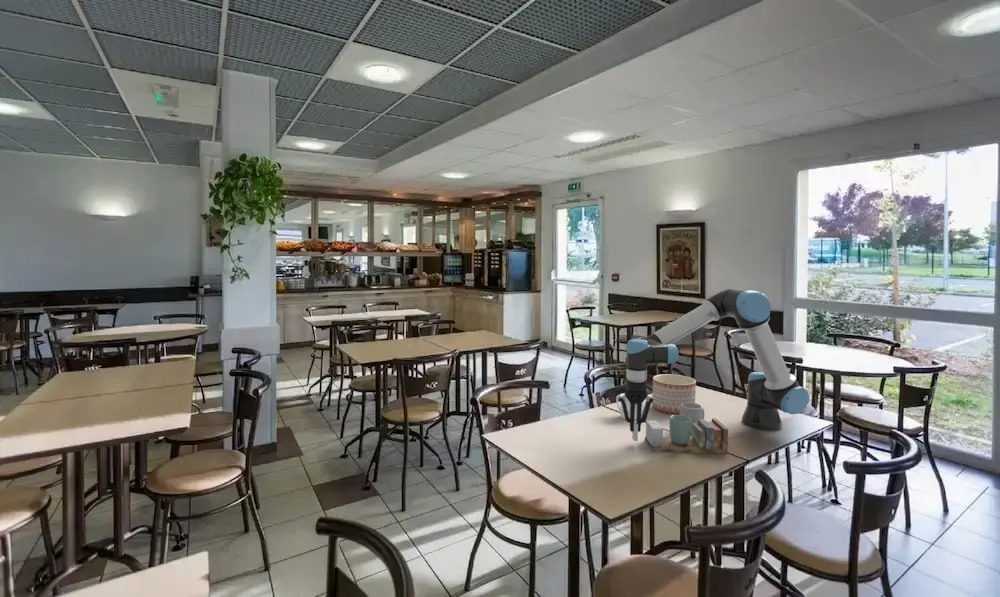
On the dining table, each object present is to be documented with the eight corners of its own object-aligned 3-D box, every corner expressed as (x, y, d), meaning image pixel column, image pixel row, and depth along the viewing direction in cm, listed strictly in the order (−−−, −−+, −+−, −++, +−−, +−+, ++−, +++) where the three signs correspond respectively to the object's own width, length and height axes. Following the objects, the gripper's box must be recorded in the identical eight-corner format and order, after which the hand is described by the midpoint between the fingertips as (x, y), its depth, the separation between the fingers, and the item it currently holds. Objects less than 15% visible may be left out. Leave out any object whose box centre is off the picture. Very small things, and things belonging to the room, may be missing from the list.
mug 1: (642, 416, 223) (643, 394, 222) (636, 422, 215) (637, 399, 214) (619, 412, 229) (619, 391, 228) (612, 418, 221) (613, 395, 220)
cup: (688, 448, 184) (689, 422, 183) (666, 444, 188) (667, 419, 187) (692, 441, 190) (693, 416, 189) (671, 437, 194) (672, 413, 193)
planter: (691, 405, 240) (692, 375, 239) (697, 417, 221) (699, 385, 220) (650, 402, 244) (651, 373, 243) (653, 414, 226) (654, 383, 224)
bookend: (655, 437, 194) (656, 420, 193) (662, 446, 185) (663, 428, 184) (645, 437, 194) (646, 420, 193) (651, 446, 185) (652, 428, 184)
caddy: (714, 440, 194) (715, 418, 194) (727, 453, 182) (728, 429, 182) (644, 439, 196) (645, 417, 195) (652, 452, 184) (653, 428, 183)
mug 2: (691, 436, 199) (692, 409, 198) (674, 429, 207) (675, 404, 206) (711, 431, 205) (712, 405, 204) (694, 424, 213) (695, 400, 212)
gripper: (651, 377, 191) (649, 436, 193) (617, 377, 191) (616, 435, 194) (656, 382, 183) (654, 443, 186) (621, 382, 184) (619, 443, 186)
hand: (634, 439), depth 190 cm, fingers closed
